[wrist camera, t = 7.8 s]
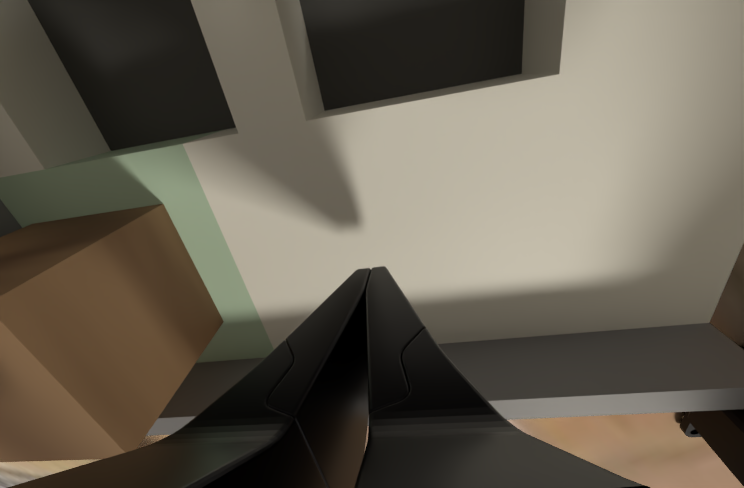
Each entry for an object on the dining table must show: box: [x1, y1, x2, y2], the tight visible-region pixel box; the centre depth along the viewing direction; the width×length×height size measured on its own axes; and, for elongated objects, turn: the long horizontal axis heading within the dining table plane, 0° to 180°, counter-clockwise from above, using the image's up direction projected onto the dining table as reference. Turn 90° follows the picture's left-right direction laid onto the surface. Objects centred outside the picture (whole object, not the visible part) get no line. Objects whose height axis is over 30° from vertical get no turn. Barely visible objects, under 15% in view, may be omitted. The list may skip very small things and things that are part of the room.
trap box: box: [0, 0, 744, 436], centre depth 9 cm, size 24×18×6 cm
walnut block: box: [0, 204, 224, 462], centre depth 9 cm, size 5×5×5 cm
